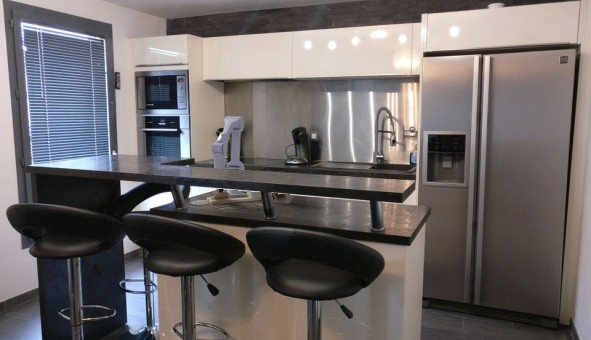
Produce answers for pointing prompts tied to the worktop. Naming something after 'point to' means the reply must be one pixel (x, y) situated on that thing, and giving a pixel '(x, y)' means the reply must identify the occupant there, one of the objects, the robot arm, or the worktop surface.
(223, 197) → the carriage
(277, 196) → the coffee box
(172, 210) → the worktop surface
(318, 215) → the worktop surface
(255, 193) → the gauge cabinet
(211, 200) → the rail board
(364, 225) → the worktop surface
